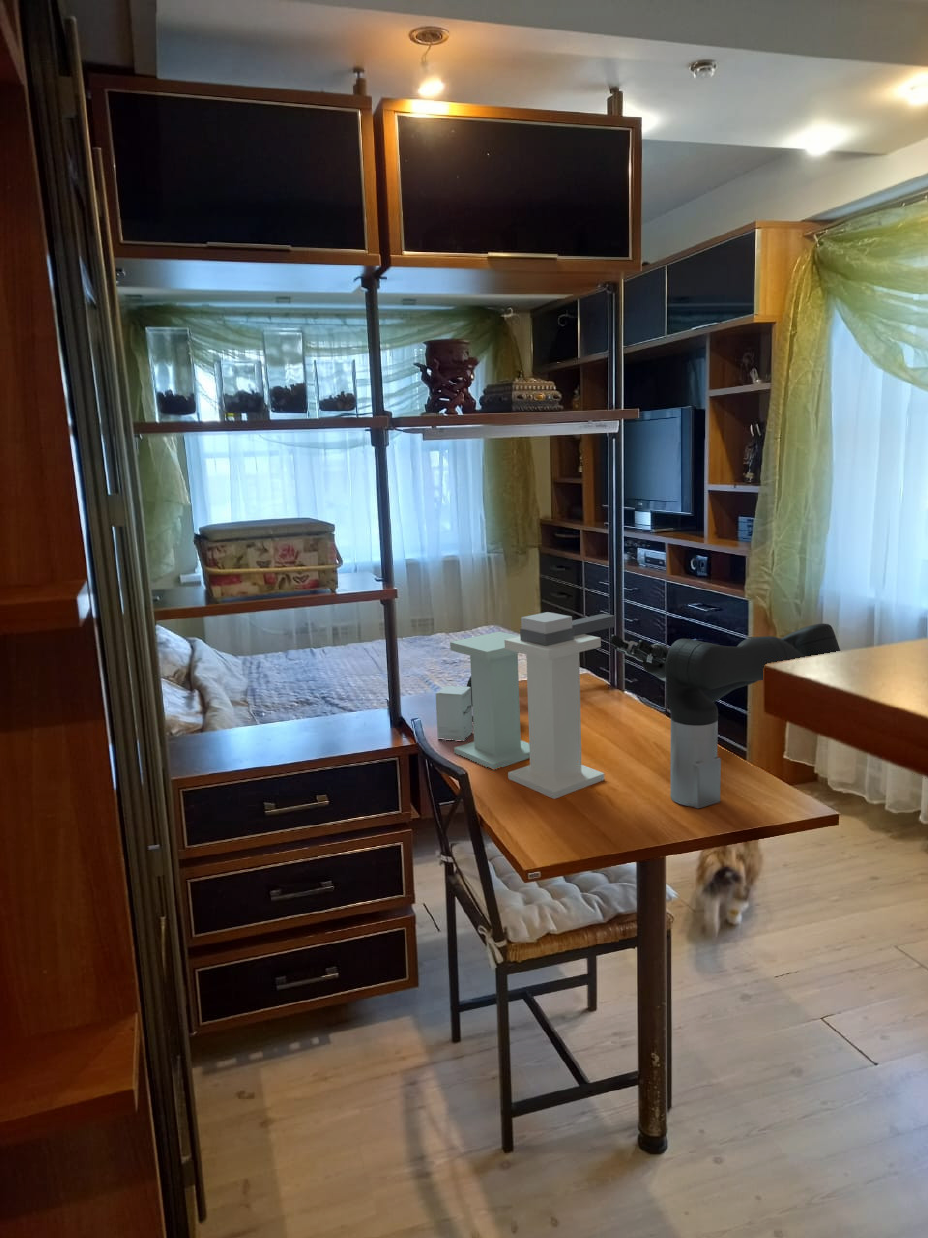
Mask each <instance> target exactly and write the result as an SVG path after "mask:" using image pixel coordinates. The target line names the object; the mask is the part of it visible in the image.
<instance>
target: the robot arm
mask: <svg viewBox="0 0 928 1238" xmlns="http://www.w3.org/2000/svg"><path fill="white" fill-rule="evenodd" d="M608 643H609V644H610V645H612V646H613V649H614V650H615V651H617V652H619V653H622V654H623V655H625V656H627V657H631V658H634V659H636V660H637V661H639V662H641V665H642V668H643V670H644V671H645V672H647V673H648V674H650V675H652V676H654V677H656V678H658V679H659V680H661V681H663V682H665V685H666V687H665V688H666V701H667V706H668V708H669V710H670V711H669V712H670V774H669V775H670V799H671V800H672V802H675V803H676V804H680V805H682V806H684V807H685V806H686V807H693V808H695V809H701V808H704V807H707V806H711V805H714V804H715V805H716V804H719V803H720V802H721V778H722V777H721V775H722V774H721V770H722V768H721V767H722V765H721V764H722V759H721V757H720V756H718V735H719V734H718V727H719V725H718V723H719V721H718V720H719V709H718V706H717V704H716V703H715V702H717V701H718V700H720V699H722V698H723V697H725V696H726V695H728V694H729V693H731V692H732V691H734V690H736V689H739V688H742V687H746V686H749V685H752V684H754V683H757V682H759V681H764V680H763V668H764V665H765V664H767V663H771V662H777V661H783V660H790V659H795V658H800V657H805V656H811V655H818V654H824V653H830V652H836V651H841V649H840V646H839V643H838V640H837V635H836V633H835V631H834V628H833V626H832V625H830V624H829V623H817V624H816V623H815V624H811V625H808V626H805V627H802V628H800V629H798V630H795V631H793V632H791V633H789V634H786V635H785V636H783V637H781V638H780V637H777V636H771V635H768V636H767V635H766V636H765V635H764V636H755V637H749V638H746V639H743V640H742V641H741V642H739V643H738V645H736V646H727V645H719V644H716V643H711V642H708V641H707V642H706V641H705V642H704V641H700V640H696V639H691V638H679V639H677V640H675V641H674V642H673V643H672V644H671V646H670V647H668V646H666V645H664V644H662V643H653V644H649V643H648V642H646V641H645V640H642V639H640V640H638V642H636V641H634V640H630V641H628V640H625V639H624V638H621V637H619V636H617V635H616V634H611V635H610V637H609V641H608ZM633 645H634V646H633Z"/></svg>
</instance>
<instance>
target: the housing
mask: <svg viewBox="0 0 928 1238" xmlns="http://www.w3.org/2000/svg"><path fill="white" fill-rule="evenodd" d="M520 619H521V620H520V623H521V627H520V630H519V631H520V635H519V636H520V638H521V641H525V642H530V643H534V644H538V645H543V646H549V645H553V644H558V643H562V642H566V641H570V640H574V636H577V635H581V634H585V635H587V634H588V633H593V632H598V631H602V630H606V629H610V628H615V627H616V615H612V614H608V613H599V614H596V615H591V616H587V617H582V618H577V619H573V616H571V615H565V614H560V613H556V612H549V611H547V612H546V611H545V612H541V613H537V614H536V613H535V614H532V615H526V616H522V617H520Z"/></svg>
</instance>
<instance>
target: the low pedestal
mask: <svg viewBox="0 0 928 1238" xmlns="http://www.w3.org/2000/svg"><path fill="white" fill-rule="evenodd" d="M519 636H520V635H515V634H511V633H509V632H508V633H506V632H503V631H495V632H491V633H486V634H482V635H477V636H473V637H467V638H462V639H459V640H454V641H450V642H449V648H450V652H451V651H452V652H454V653H455V652H456V653H459V654H462V655H467V656H469V659H470V661H469V663H470V677H471V685H472V706H473V707H472V716H473V724H472V728H473V741H471V742H469V743H466V744H461V745H459V746H454V748H453V749H454V750H453V751H454V754H455V753H456V754H455V755H457V754H458V755H457V756H459V755H461V756H463V757H462V758H464V757H466V758H468V759H470V760H469V761H471V760H472V761H471V762H473V761H474V762H473V763H475V762H477V763H476V764H478V763H479V764H478V765H480V764H481V765H480V766H482V765H484V766H485V768H487V767H490V768H492V769H496V768H499V767H502V768H504V767H507V766H510V765H514V764H516V763H519V762H522V761H525V760H528V759H530V749H529V742H527V741H525V740H522V739H521V738H522V737H521V736H522V735H521V734H522V733H521V711H520V709H521V707H520V706H521V705H520V686H519V684H520V683H519V682H520V681H519V656H518V655H519V654H520V653H519V652H515V651H511V650H507V649H505V642H504V640H506V639H510V638H515V637H519ZM461 756H460V757H461ZM466 758H465V759H466ZM468 759H467V760H468ZM484 766H483V767H484ZM499 769H500V768H499ZM496 770H497V769H496Z"/></svg>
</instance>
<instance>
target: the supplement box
mask: <svg viewBox="0 0 928 1238" xmlns="http://www.w3.org/2000/svg"><path fill="white" fill-rule="evenodd" d="M434 694H435V711H436V713H435V715H436V728H437V729H436V734H437V736H436V737H437V739H438V738H444V739H451V740H452V739H453V740H461V741H463V740H464V741H466V739H467V738H469V736H471V735H472V734H473V733H474V728H473V724H472V716H473V707H472V703H471V687H466V686H460V685H459V686H457V685H444V686H443V687H442V688H440V689H439V690H438V691H436V692H435V693H434ZM472 732H473V733H472ZM471 733H472V734H471ZM466 737H467V738H466ZM465 738H466V739H465Z"/></svg>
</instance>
